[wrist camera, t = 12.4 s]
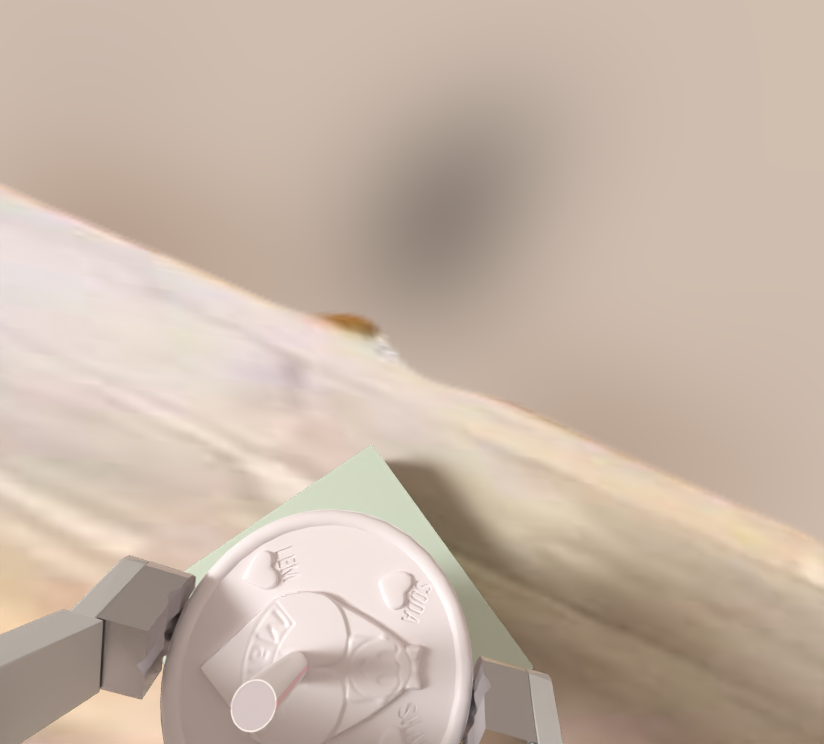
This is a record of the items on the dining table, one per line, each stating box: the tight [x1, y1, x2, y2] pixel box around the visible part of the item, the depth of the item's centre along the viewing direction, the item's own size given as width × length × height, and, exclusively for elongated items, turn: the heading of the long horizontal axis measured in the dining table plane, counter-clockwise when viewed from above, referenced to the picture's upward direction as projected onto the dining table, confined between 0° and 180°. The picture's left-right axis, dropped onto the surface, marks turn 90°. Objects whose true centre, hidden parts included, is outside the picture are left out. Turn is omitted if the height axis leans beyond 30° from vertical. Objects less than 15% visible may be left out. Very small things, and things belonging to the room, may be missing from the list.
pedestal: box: [163, 444, 534, 680], centre depth 20 cm, size 11×11×3 cm
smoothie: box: [160, 509, 473, 744], centre depth 13 cm, size 6×6×14 cm
